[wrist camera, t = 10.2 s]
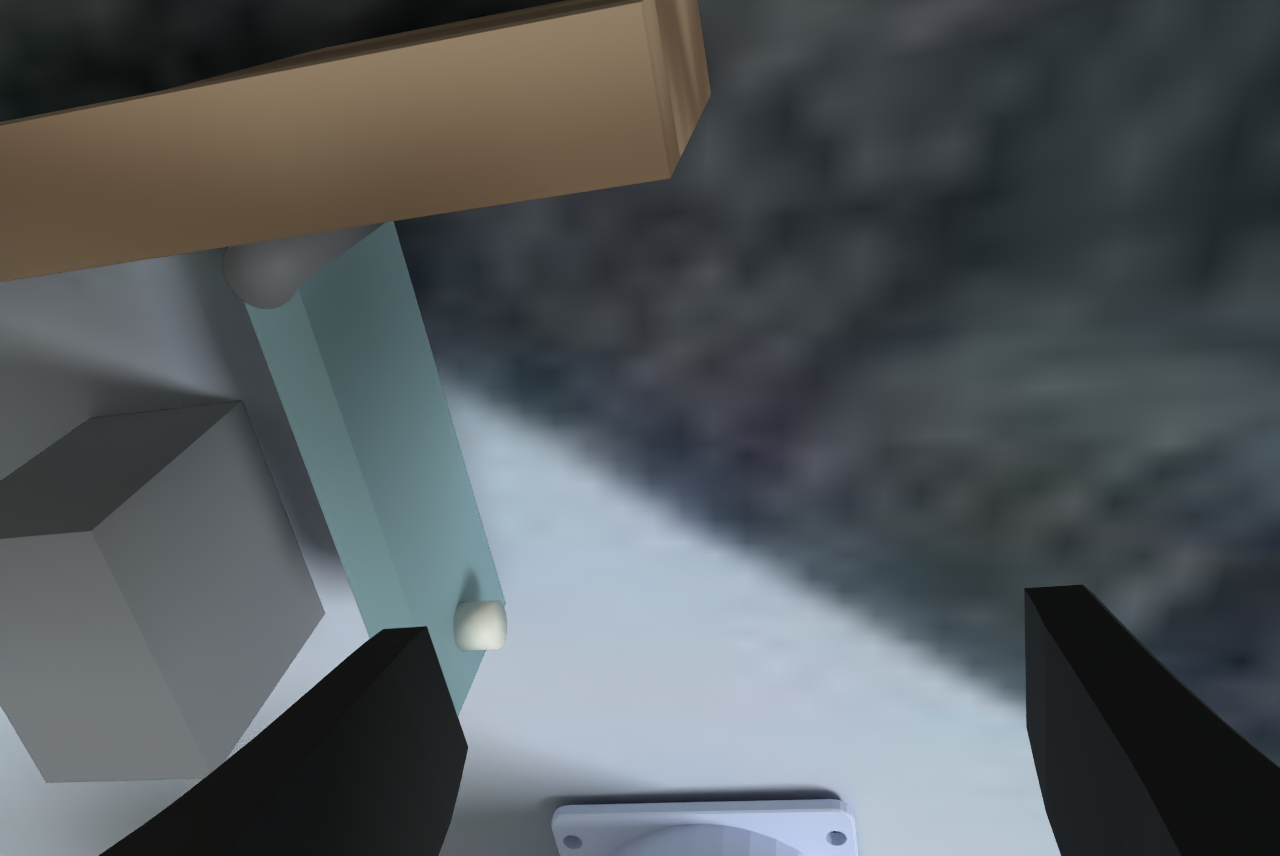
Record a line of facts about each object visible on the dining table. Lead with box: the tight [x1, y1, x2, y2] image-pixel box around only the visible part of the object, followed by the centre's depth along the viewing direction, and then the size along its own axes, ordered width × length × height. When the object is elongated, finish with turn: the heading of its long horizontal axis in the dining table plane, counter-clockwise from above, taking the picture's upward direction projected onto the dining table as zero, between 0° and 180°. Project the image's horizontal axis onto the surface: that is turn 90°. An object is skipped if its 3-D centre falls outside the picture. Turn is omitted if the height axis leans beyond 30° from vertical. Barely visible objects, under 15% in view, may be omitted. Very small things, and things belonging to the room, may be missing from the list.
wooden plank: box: [0, 0, 711, 282], centre depth 17 cm, size 2×22×7 cm, turn 100°
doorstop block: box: [0, 401, 325, 783], centre depth 22 cm, size 6×4×6 cm, turn 10°
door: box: [223, 221, 507, 716], centre depth 19 cm, size 10×2×4 cm, turn 10°
